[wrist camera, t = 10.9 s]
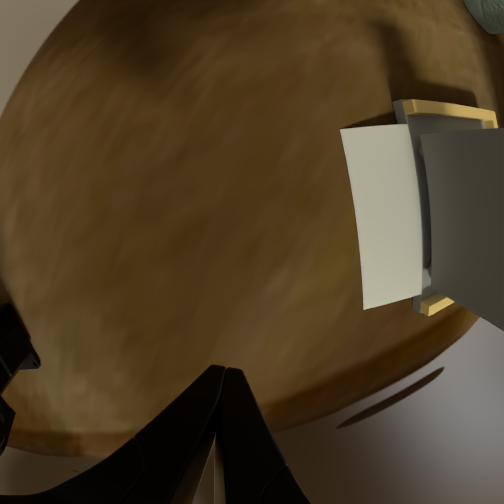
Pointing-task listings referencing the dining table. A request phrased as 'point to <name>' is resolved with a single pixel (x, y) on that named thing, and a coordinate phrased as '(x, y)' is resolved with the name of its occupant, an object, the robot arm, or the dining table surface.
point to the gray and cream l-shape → (467, 218)
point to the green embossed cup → (488, 14)
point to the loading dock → (400, 199)
